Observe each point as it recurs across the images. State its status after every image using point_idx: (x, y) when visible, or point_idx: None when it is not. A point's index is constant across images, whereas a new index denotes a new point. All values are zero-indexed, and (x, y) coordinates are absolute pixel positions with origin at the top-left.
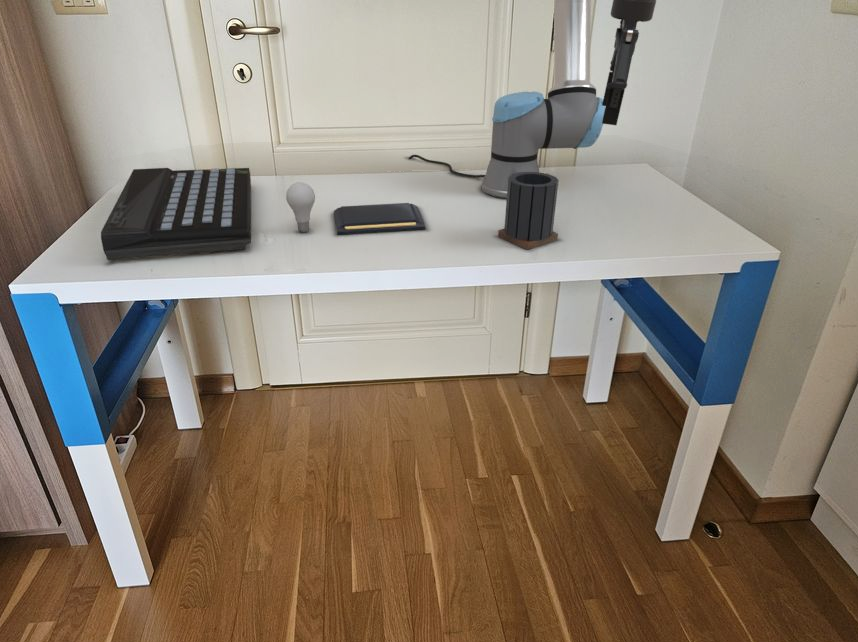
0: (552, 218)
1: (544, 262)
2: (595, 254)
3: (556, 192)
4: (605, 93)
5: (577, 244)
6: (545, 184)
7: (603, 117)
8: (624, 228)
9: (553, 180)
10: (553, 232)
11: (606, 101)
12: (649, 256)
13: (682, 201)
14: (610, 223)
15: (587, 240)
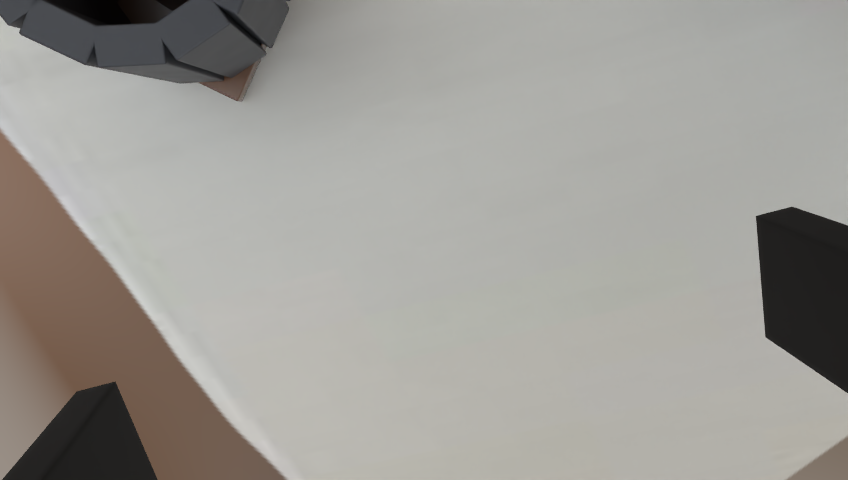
0: (167, 78)
1: (2, 122)
2: (181, 265)
3: (158, 70)
4: (846, 260)
5: (239, 182)
6: (43, 14)
7: (47, 426)
8: (476, 291)
9: (146, 36)
10: (238, 81)
11: (786, 262)
12: (261, 421)
13: (824, 402)
14: (504, 235)
15: (297, 204)
